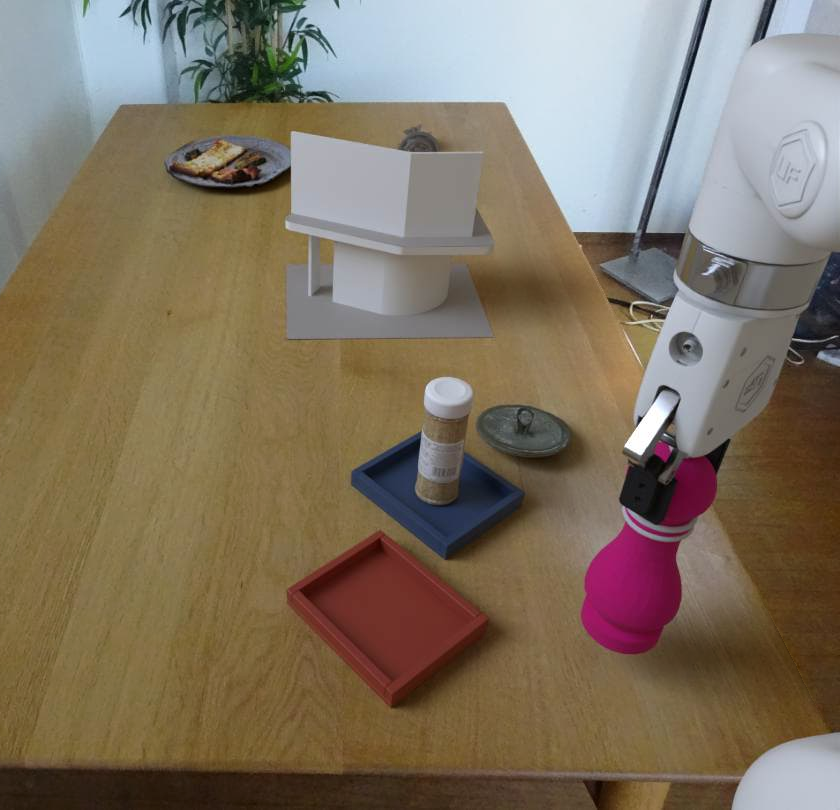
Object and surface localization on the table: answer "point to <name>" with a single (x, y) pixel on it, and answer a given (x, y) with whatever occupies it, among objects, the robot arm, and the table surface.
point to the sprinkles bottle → (443, 439)
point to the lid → (523, 430)
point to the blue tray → (437, 524)
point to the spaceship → (418, 141)
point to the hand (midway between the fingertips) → (667, 490)
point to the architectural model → (384, 242)
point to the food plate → (229, 161)
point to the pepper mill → (645, 565)
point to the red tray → (386, 615)
